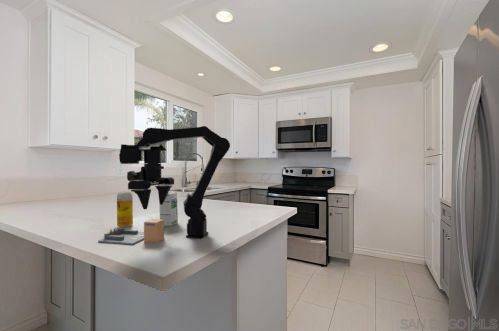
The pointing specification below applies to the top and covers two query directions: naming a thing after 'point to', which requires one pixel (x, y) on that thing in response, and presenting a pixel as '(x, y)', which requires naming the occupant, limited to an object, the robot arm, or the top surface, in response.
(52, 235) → the top surface
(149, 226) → the block
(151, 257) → the top surface
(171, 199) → the syrup box
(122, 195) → the beer can
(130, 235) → the flat gray board
